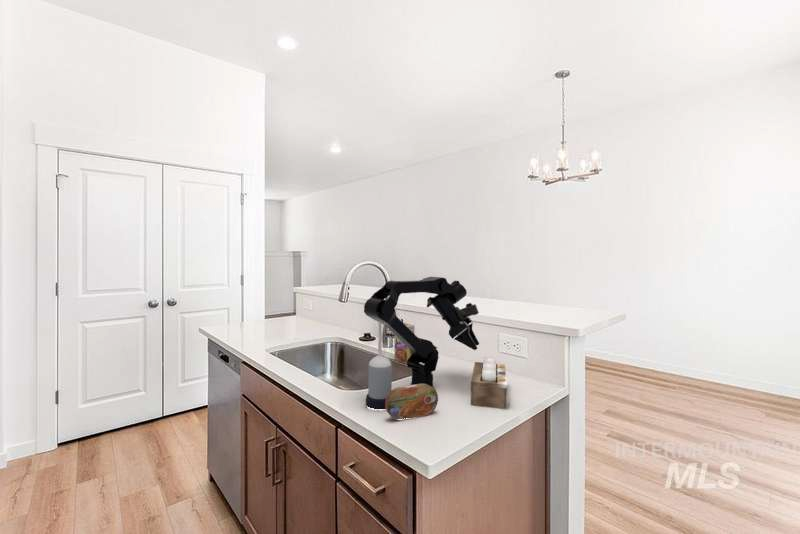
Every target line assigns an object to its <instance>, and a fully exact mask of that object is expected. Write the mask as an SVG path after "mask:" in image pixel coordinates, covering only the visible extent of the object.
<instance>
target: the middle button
mask: <svg viewBox="0 0 800 534" xmlns="http://www.w3.org/2000/svg"><path fill="white" fill-rule="evenodd" d="M482 363H483V369H493V370H495V371H496V364H497V363H496V364H494V363H484V362H482Z"/></svg>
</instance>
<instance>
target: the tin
mask: <svg viewBox="0 0 800 534" xmlns="http://www.w3.org/2000/svg"><path fill="white" fill-rule="evenodd" d="M438 402H439V394H438V392H437V390H436V389H435V388H434V386H433V387H432V386H430V385H427V384H423V383H422V384H415V385H411V384H410V385H405V386H404V385H403V386H400V387H394V388H393V389H391V392H390V393H389V394H388V395H387V397H386V402H385V407H386V410H387V411H386V413H387V414H388V415H389V416H390V417H391V418H392V420H393V419H394V420H395V421H397V419H404V418H405V419H406V418H412V419H414V418H413V417H417V418H421V416H422V417H426V416H428V415H430V414H432V413H433V412H434V411H435V409H436V407H437V405H438Z"/></svg>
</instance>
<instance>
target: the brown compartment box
mask: <svg viewBox="0 0 800 534" xmlns="http://www.w3.org/2000/svg"><path fill="white" fill-rule="evenodd" d="M483 363H484V362H482V361H481V362H480V361H479V362H478V361H475V362H474V365H473V371H472V375H471V381H470V406H475V407H476V406H477V407H485V408H493V409H495V408H496V409H504V410H506V409H507V388H508V385H507V383H508V382H507V370H506V369H507V368H506V364H505V363H496V383H495V382H484V381H482V370H483Z"/></svg>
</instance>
